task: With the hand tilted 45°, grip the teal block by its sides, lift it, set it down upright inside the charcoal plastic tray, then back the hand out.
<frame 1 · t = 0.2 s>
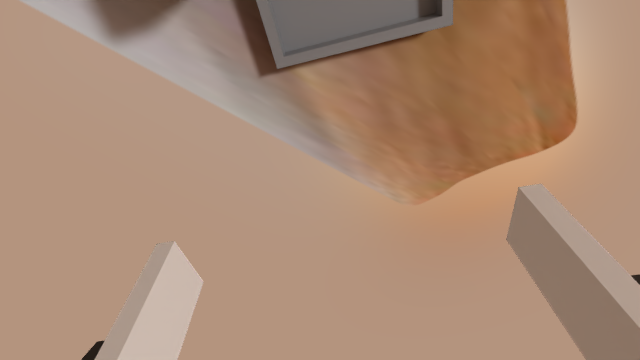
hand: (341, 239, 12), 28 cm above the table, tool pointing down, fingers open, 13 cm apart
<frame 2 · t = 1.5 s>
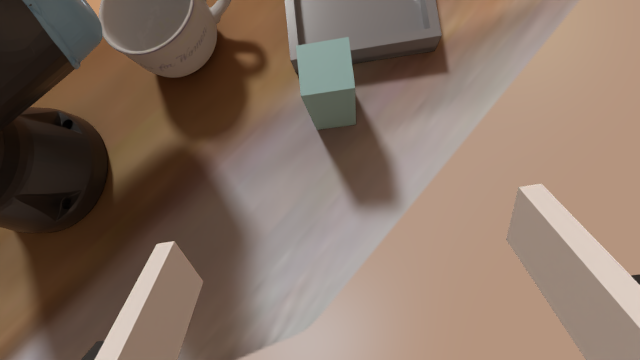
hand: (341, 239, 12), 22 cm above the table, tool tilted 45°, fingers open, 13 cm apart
teal block: (334, 108, 35), on the table
teacup: (199, 44, 39), on the table
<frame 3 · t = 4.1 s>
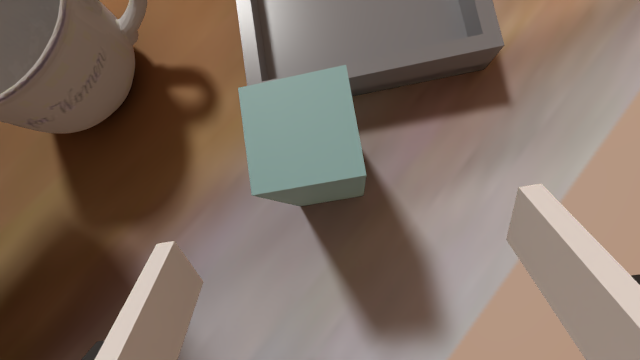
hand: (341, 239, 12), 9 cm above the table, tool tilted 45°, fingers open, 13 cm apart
teal block: (326, 169, 22), on the table
teacup: (115, 75, 25), on the table
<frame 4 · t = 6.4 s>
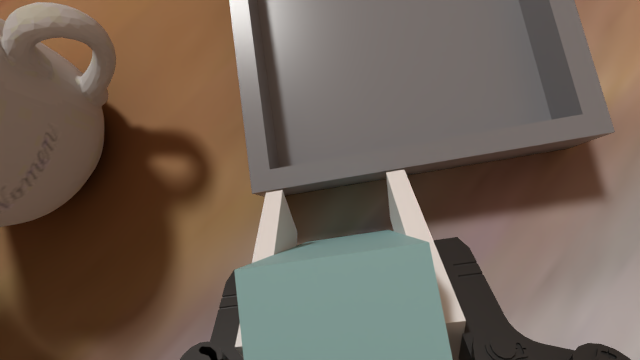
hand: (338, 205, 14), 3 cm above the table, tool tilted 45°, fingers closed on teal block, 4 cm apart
teal block: (353, 278, 16), on the table, touching gripper
tray: (381, 25, 18), on the table
teacup: (83, 137, 20), on the table
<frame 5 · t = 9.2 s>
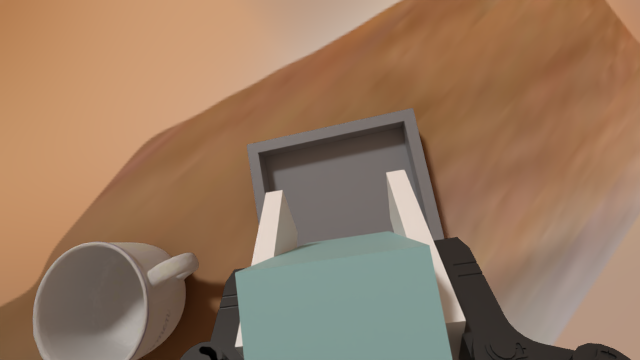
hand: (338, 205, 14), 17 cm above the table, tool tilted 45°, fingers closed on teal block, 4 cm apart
teal block: (354, 279, 17), point 14 cm above the table, touching gripper
tray: (347, 221, 31), on the table
teacup: (166, 284, 32), on the table
when the fingers open (6 cm above the table, at t = 11.8 s): teal block drops 1 cm, resting on tray.
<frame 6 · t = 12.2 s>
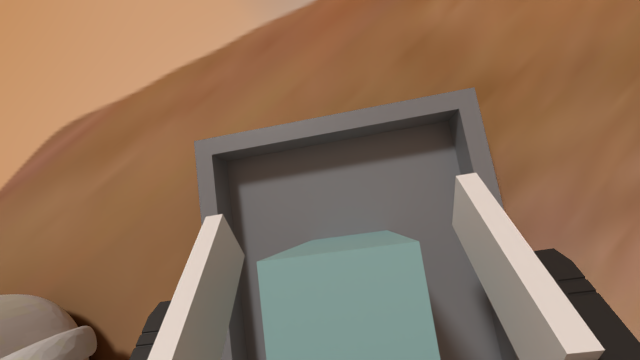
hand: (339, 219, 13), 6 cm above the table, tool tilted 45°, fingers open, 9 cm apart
teal block: (354, 274, 18), point 1 cm above the table, touching tray
tray: (354, 270, 19), on the table
teacup: (69, 355, 21), on the table
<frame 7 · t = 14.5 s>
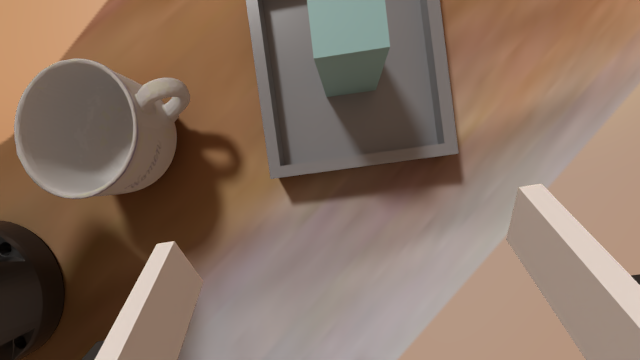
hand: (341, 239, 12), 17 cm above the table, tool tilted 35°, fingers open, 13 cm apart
teal block: (348, 69, 28), point 1 cm above the table, touching tray
tray: (348, 72, 29), on the table
teacup: (156, 134, 31), on the table
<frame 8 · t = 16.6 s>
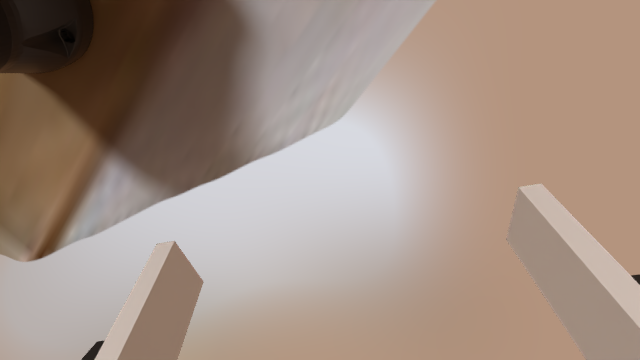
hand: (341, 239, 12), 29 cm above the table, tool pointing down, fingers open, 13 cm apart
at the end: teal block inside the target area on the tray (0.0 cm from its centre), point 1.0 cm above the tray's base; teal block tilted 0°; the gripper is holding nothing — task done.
